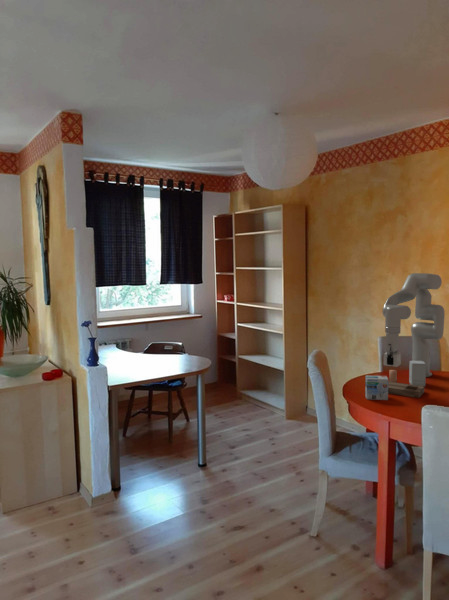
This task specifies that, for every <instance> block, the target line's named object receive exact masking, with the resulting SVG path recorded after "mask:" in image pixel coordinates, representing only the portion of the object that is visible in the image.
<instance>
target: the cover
mask: <svg viewBox="0 0 449 600" xmlns="http://www.w3.org/2000/svg"><path fill="white" fill-rule="evenodd" d="M397 352H398V351H397ZM397 352H394V353H393V365H387V352H385V353H383V366H386V367H399V366H400V365H401V364H402V362H401V361H402V352H398V353H397ZM391 355H392V353H391Z"/></svg>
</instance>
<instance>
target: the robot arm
mask: <svg viewBox="0 0 449 600" xmlns="http://www.w3.org/2000/svg"><path fill="white" fill-rule="evenodd" d="M442 284H443V283H442V278H441V276H440V275H439V274H434V273H426V272H425V273H424V272H423V273H419V272H417V273H416V272H415V273H414V272H413V273H410V274H408V275H407V277H406V279H405V280H404V283H403V284H402V287H401V289H400V290H398V291H397V292H395V293H393V294H392V295H390V296H389V297H388V298H387V299H386V301H385V303H384V305H383V307H382V315H383V317H384V319H385V323H384V328H385V329H384V331H385V341H384V352H385V353H386V352H387V365H393V353H394V352H397V353H399V352H398V350H399V348H400V337H399V335H400V334H401V324H402V323H401V321H402V320H408V319H409V318H410V317H411V314H412V309H411V307H409V305H403V304H402V303H407V302H410V301H413V300H414V299H415V306H414V307H415V308H414V317H415V319H417V320H420V321H416V322H414V323H412V324H411V327H410V332H411V339H412V349H411V350H412V352H411V353H412V355H411V356H412V357H411V361H423V362H424V363H426V378H429V377H432V376H433V373H432V372H431V371H430V362H431V361H430V358H431V357H430V353H431V346H430V343H429V341H428V340H435V341H439V340H441V339H442V338H443V336H444V328H445V309H444V307H443V306H442V305H441V304H432V294H431V292H430V290H438V289H440V288H441V286H442ZM423 321H424V322H423ZM426 321H427V322H426ZM428 321H430V322H428ZM431 321H432V322H431ZM433 322H434V323H433ZM391 353H392V355H391ZM387 365H386V366H387Z"/></svg>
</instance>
